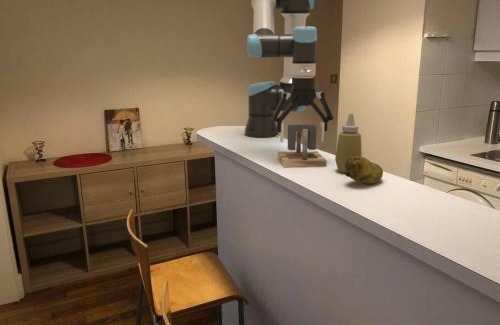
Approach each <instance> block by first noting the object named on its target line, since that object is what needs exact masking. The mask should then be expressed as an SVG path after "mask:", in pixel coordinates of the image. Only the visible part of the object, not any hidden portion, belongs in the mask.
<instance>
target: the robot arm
mask: <svg viewBox="0 0 500 325" xmlns="http://www.w3.org/2000/svg"><path fill="white" fill-rule="evenodd" d="M250 4H251V5H250V6H251V8H252V10H253V25H252V26H253V31H252V32H253V34H252V33H251V34H248V36H247V39H246V41H247V44H246V46H247V47H246V50H247V56H248V57H249V58H258V59H260V58H283V77H281V78H280V80H279V84H276V82H275V81H273V80H270V81H261V82H256V83H252V84H250V85H248V86H249V87H248V92H247V93H248V94H247V97H248V119H247V120H246V121H247V122H246V125H245V128H244V135H245V136H246V137H252V138H273V137H276V136H278V135H279V142H280V143H283V144H284V139H285V138H284V134H285V132H284V131H285V130H284V127H285V124H284V122H283V121H284V120H285V118H286V117H287V116H288V115H289V114H290V112H304V111H305V110H306V109H307V108H308V107H309V106H311V108H312V109H313V110H314V111H315V113H316V114H317V115H318V116H319V118H320V119H321V120H320V121H319V123H320V124H319V141H320V142H321V143H322V142H323V143H324V142H325V141H324V140H325V139H324V138H325V132H327V131H328V123H329V122H331V121H333V120H334V116H333V113H332V111H331V109H330V108H329V105H328V103H327V101H326V95H325V92H323V91H319V92H316V78H315V76H316V71H317V69H316V68H317V66H316V65H317V64H316V63H317V62H316V60H317V45H318V44H317V40H318V29H317V28H316V26H306V24H307V23H306V21H307V20H306V19H307V18H308V16H310V15H311V10H313V9H314V8H315V7H314V6H315V0H250ZM274 10H281V16H282V17H283V18H284V34H282V33H281V34H280V33H278V34H277V33H275V17H274V16H275V15H274V12H275V11H274ZM316 97H317V99H319V101H320V104H321V105H322V108H323V110H324V112H322V110H321V108H319V106H318V105H317V104H316V103H315V101H314V100H315V99H316ZM280 113H281V114H280ZM324 113H325V114H326V115H325V114H324Z"/></svg>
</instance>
